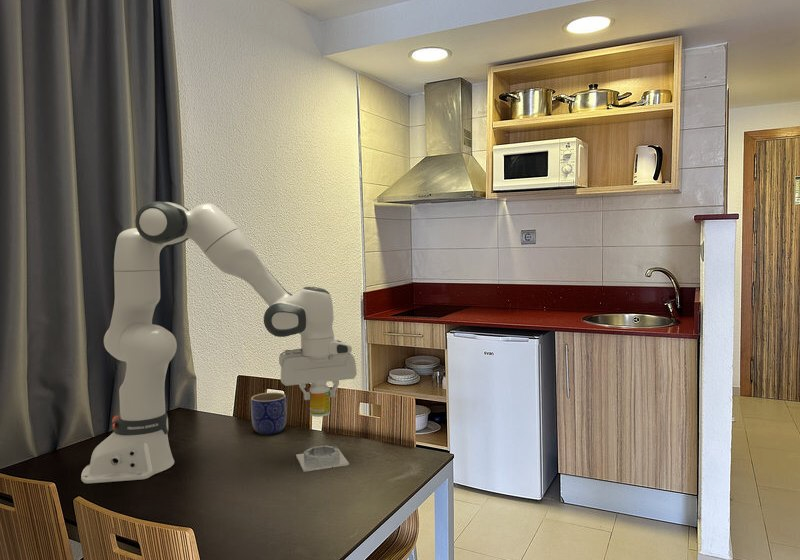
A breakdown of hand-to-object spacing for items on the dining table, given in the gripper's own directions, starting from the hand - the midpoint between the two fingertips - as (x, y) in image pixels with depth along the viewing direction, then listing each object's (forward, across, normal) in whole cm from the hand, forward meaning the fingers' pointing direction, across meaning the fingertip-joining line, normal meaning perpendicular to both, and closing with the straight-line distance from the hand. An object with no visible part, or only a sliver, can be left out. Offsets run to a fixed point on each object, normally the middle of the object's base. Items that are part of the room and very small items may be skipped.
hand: (319, 398), depth 163 cm
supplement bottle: (+5, 0, 0) cm, 5 cm away
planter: (+18, -10, +32) cm, 38 cm away
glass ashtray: (+17, 0, 0) cm, 17 cm away
